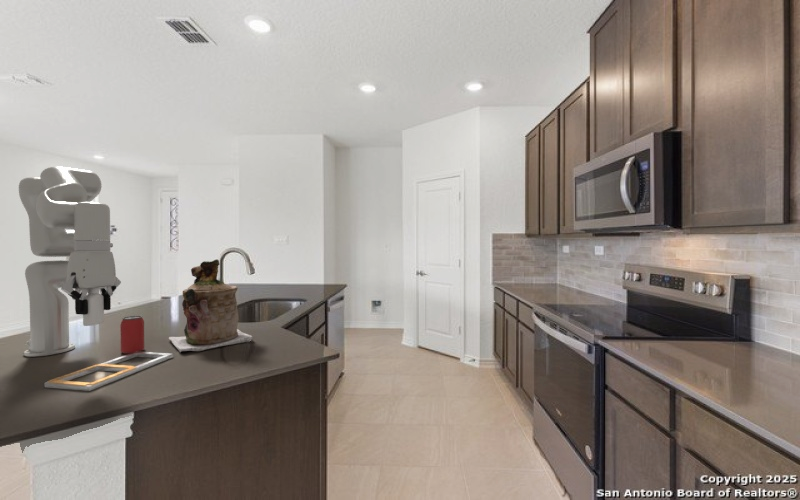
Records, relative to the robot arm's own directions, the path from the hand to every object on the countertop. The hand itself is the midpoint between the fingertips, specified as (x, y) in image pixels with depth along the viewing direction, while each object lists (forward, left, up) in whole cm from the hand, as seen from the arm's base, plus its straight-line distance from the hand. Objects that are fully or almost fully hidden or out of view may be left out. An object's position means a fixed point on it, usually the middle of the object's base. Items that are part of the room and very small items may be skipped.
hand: (93, 311), depth 96 cm
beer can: (-12, +23, -19) cm, 32 cm away
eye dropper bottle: (0, 0, -4) cm, 4 cm away
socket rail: (0, +6, -19) cm, 20 cm away
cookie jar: (+6, +38, -19) cm, 44 cm away
